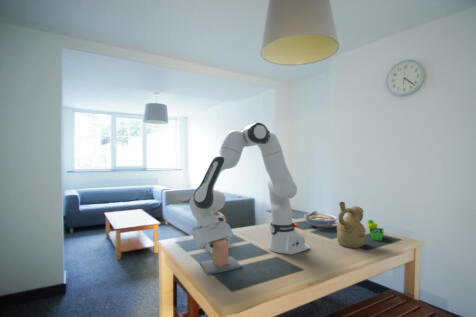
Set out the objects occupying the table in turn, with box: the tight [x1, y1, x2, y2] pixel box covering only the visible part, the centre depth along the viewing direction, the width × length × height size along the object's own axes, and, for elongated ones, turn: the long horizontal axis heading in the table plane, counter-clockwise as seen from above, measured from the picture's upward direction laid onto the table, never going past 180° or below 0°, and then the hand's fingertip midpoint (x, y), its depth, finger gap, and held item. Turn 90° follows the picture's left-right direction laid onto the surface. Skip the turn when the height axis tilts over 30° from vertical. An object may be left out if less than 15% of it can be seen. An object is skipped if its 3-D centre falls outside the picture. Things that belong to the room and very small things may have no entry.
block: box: [212, 239, 229, 267], centre depth 114 cm, size 5×5×10 cm
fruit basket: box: [366, 219, 385, 242], centre depth 154 cm, size 11×9×11 cm
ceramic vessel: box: [336, 201, 367, 249], centre depth 143 cm, size 17×20×25 cm
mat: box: [199, 255, 243, 276], centre depth 114 cm, size 16×12×1 cm
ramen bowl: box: [303, 210, 338, 229], centre depth 180 cm, size 25×23×8 cm
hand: (221, 250), depth 113 cm, fingers open, 8 cm apart
